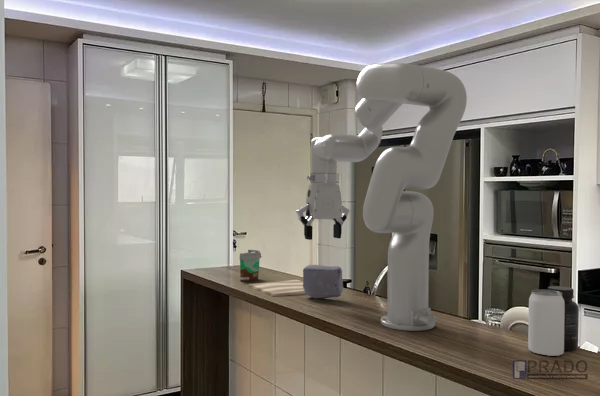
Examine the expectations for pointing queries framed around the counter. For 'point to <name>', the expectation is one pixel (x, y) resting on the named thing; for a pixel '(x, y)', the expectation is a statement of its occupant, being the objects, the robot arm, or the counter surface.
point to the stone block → (322, 281)
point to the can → (546, 322)
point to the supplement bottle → (569, 317)
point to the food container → (249, 265)
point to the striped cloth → (280, 288)
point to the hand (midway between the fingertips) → (323, 238)
